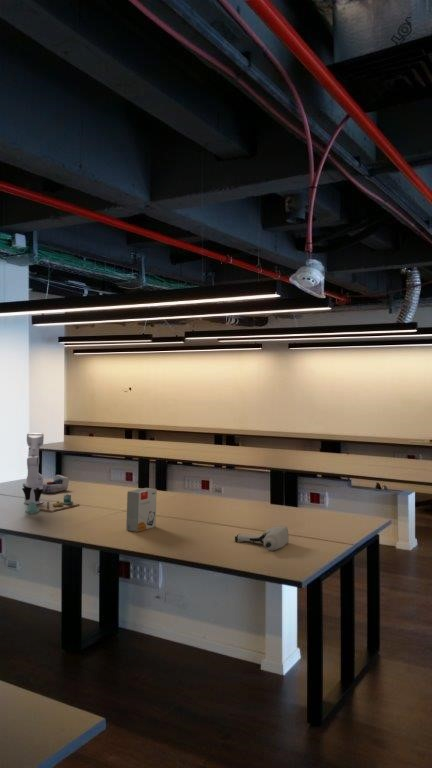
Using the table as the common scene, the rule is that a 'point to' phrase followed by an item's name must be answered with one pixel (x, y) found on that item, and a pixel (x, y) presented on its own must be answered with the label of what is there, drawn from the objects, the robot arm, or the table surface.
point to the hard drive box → (141, 509)
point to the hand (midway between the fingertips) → (32, 500)
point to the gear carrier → (59, 505)
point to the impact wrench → (268, 538)
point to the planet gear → (32, 508)
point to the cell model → (56, 484)
